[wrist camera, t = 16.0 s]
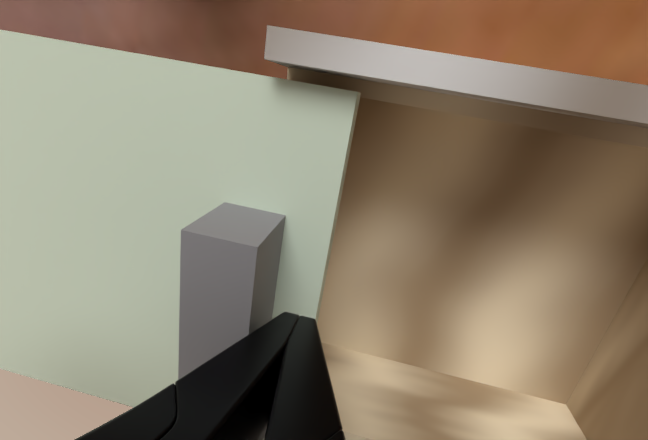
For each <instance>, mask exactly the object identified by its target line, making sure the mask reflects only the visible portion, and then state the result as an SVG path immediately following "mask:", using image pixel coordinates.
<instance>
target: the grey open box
mask: <svg viewBox="0 0 648 440" xmlns="http://www.w3.org/2000/svg"><path fill="white" fill-rule="evenodd" d="M264 59H266V60H269V61H272V62H275V63H277V64H280V65H283V66H286V67H288V73H287V80H292V81H298V82H304V83H309V84H315V85H321V86H326V87H332V88H338V89H344V90H349V91H355V92H360V93H361V95H360V101H359V106H358V111H357V116H356V122H355V127H354V132H353V138H352V143H351V148H350V153H349V159H348V164H347V169H346V175H345V180H344V185H343V190H342V196H341V201H340V206H339V211H338V217H337V222H336V227H335V233H334V238H333V243H332V248H331V254H330V259H329V264H328V269H327V275H326V280H325V285H324V291H323V296H322V301H321V306H320V312H319V317H318V322H317V326H318V330H319V334H320V338H321V343H322V347H323V351H324V355H325V359H326V363H327V367H328V371H329V375H330V379H331V383H332V387H333V391H334V395H335V399H336V403H337V408H338V412H339V416H340V420H341V424H342V431H343V432H344V435H345V439H346V440H648V85H642V84H635V83H629V82H623V81H616V80H610V79H604V78H598V77H591V76H585V75H579V74H572V73H566V72H560V71H553V70H547V69H541V68H534V67H528V66H522V65H515V64H509V63H503V62H496V61H490V60H484V59H477V58H471V57H465V56H459V55H452V54H446V53H440V52H433V51H427V50H421V49H414V48H408V47H402V46H395V45H389V44H383V43H376V42H370V41H364V40H357V39H351V38H345V37H338V36H332V35H326V34H320V33H313V32H307V31H301V30H294V29H288V28H282V27H275V26H269V25H267V34H266V44H265V55H264Z"/></svg>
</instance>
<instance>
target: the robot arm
mask: <svg viewBox="0 0 648 440" xmlns="http://www.w3.org/2000/svg"><path fill="white" fill-rule="evenodd" d="M264 437H265V438H264ZM263 439H264V440H346V439H345V435H344V432H343V431H342V424H341V420H340V416H339V412H338V408H337V403H336V399H335V395H334V391H333V387H332V383H331V379H330V375H329V371H328V367H327V363H326V359H325V355H324V351H323V347H322V343H321V338H320V334H319V330H318V326H317V322H316V320H315V319H314V318H310V317H306V316H299V315H298V314H294V313H290V312H283V313H281V314H280V315H278V316H277V317H275V318H273V319H272V320H270V321H269V322H267V323H266V324H264V325H263V326H261V327H259V328H258V329H256V330H255V331H253V332H252V333H250V334H249V335H247V336H245V337H244V338H242V339H241V340H239V341H238V342H236V343H235V344H233V345H231V346H230V347H228V348H227V349H225V350H224V351H222V352H221V353H219V354H217V355H216V356H214V357H213V358H211V359H210V360H208V361H207V362H205V363H203V364H202V365H200V366H199V367H197V368H196V369H194V370H193V371H191V372H189V373H188V374H186V375H185V376H183V377H182V378H180V379H179V380H177V381H176V382H175V384H171V385H169V386H167V387H166V388H164V389H163V390H161V391H160V392H158V393H157V394H155V395H153V396H152V397H150V398H148V399H147V400H145V401H143V402H142V403H140V404H139V405H137V406H135V407H134V408H132V409H130V410H129V411H127V412H125V413H123V414H121V415H119V416H118V417H116V418H114V419H113V420H110V421H109V422H107V423H105V424H103V425H102V426H100V427H98V428H96V429H94V430H92V431H90V432H89V433H86V434H85V435H83V436H81V437H79V438H77V439H75V440H263Z"/></svg>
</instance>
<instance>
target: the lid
mask: <svg viewBox="0 0 648 440" xmlns="http://www.w3.org/2000/svg"><path fill="white" fill-rule="evenodd" d="M360 95H361V93H360V92H355V91H349V90H344V89H338V88H332V87H326V86H321V85H315V84H309V83H304V82H298V81H292V80H286V79H281V78H275V77H269V76H263V75H258V74H252V73H246V72H240V71H235V70H229V69H223V68H217V67H212V66H206V65H200V64H195V63H189V62H183V61H177V60H172V59H166V58H160V57H154V56H149V55H143V54H137V53H131V52H126V51H120V50H114V49H108V48H103V47H97V46H91V45H85V44H80V43H74V42H68V41H63V40H57V39H51V38H45V37H40V36H34V35H28V34H22V33H17V32H11V31H5V30H0V369H3V370H7V371H10V372H14V373H17V374H21V375H24V376H27V377H31V378H34V379H38V380H41V381H45V382H48V383H52V384H55V385H58V386H62V387H65V388H69V389H72V390H76V391H79V392H83V393H86V394H90V395H93V396H97V397H100V398H103V399H107V400H110V401H113V402H117V403H120V404H124V405H127V406H131V407H135V406H137V405H139V404H140V403H142V402H143V401H145V400H147V399H148V398H150V397H152V396H153V395H155V394H157V393H158V392H160V391H161V390H163V389H164V388H166V387H167V386H169V385H171V384H175V382H176V381H177V380H179V379H180V378H182V377H183V376H185V375H186V374H188V373H189V372H191V371H193V370H194V369H196V368H197V367H199V366H200V365H202V364H203V363H205V362H207V361H208V360H210V359H211V358H213V357H214V356H216V355H217V354H219V353H221V352H222V351H224V350H225V349H227V348H228V347H230V346H231V345H233V344H235V343H236V342H238V341H239V340H241V339H242V338H244V337H245V336H247V335H249V334H250V333H252V332H253V331H255V330H256V329H258V328H259V327H261V326H263V325H264V324H266V323H267V322H269V321H270V320H272V319H273V318H275V317H277V316H278V315H280V314H281V313H283V312H290V313H294V314H298V315H299V316H306V317H310V318H314V319H315V320H316V322H318V317H319V312H320V306H321V301H322V296H323V291H324V285H325V280H326V275H327V269H328V264H329V259H330V254H331V248H332V243H333V238H334V233H335V227H336V222H337V217H338V211H339V206H340V201H341V196H342V190H343V185H344V180H345V175H346V169H347V164H348V159H349V153H350V148H351V143H352V138H353V132H354V127H355V122H356V116H357V111H358V106H359V101H360ZM264 438H265V437H264ZM263 440H264V439H263Z"/></svg>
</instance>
